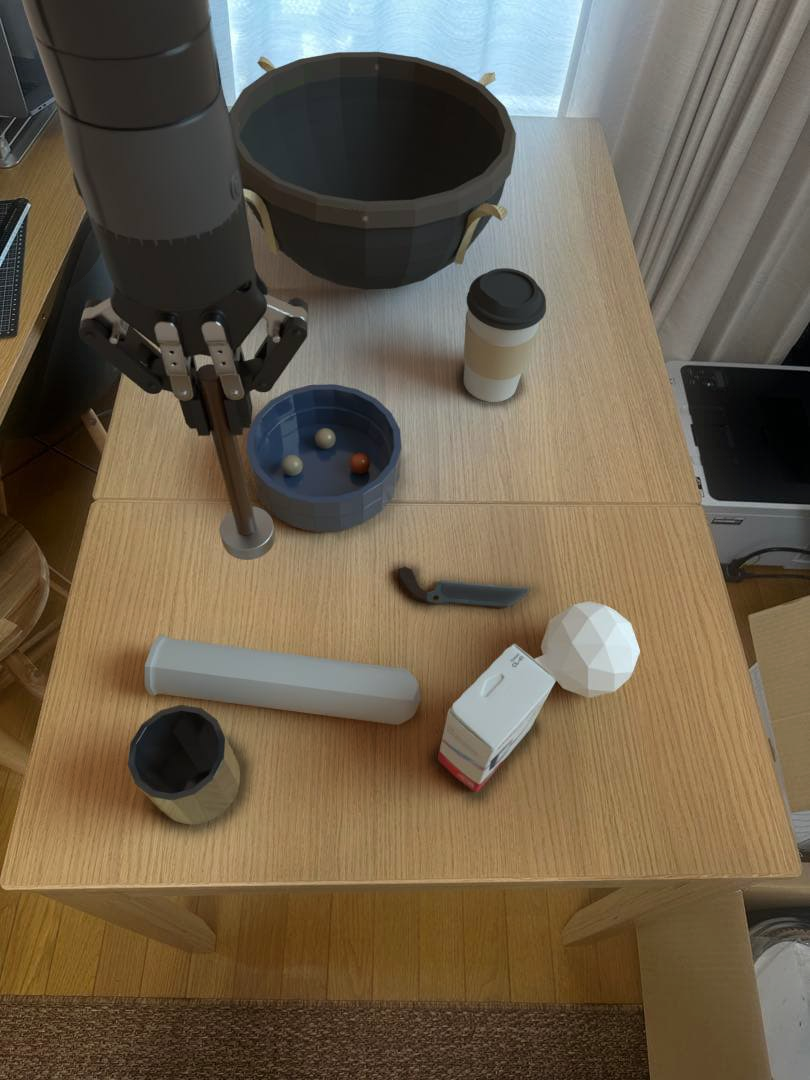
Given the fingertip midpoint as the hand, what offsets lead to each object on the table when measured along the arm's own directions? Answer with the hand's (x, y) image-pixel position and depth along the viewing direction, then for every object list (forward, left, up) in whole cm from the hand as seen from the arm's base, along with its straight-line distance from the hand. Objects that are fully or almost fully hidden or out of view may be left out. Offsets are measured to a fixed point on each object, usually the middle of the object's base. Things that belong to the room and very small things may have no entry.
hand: (221, 425), depth 50 cm
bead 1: (+2, +18, -27) cm, 33 cm away
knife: (+20, +2, -29) cm, 36 cm away
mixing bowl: (+6, +18, -29) cm, 35 cm away
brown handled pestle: (0, 0, -14) cm, 14 cm away
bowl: (+13, +56, -29) cm, 65 cm away
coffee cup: (+27, +32, -29) cm, 51 cm away
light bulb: (+29, -7, -29) cm, 42 cm away
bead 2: (+6, +22, -27) cm, 36 cm away
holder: (-6, -16, -29) cm, 34 cm away
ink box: (+20, -14, -29) cm, 38 cm away
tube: (+2, -8, -29) cm, 31 cm away
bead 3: (+10, +18, -27) cm, 34 cm away
